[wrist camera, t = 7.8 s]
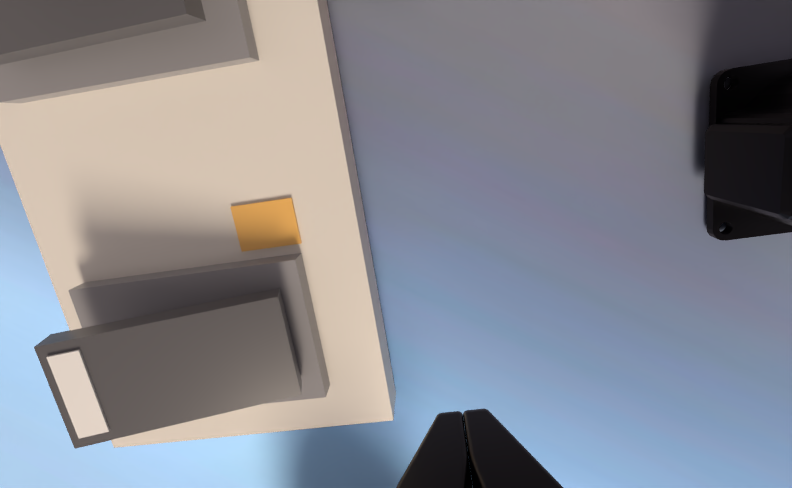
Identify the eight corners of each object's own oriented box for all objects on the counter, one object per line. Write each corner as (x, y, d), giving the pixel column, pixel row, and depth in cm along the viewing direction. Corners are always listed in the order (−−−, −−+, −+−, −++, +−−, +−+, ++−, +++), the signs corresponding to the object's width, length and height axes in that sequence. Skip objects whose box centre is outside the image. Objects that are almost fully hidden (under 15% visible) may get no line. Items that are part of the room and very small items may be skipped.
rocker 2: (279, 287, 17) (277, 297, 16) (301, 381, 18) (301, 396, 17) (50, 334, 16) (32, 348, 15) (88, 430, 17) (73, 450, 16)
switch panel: (280, -263, 15) (247, -350, 12) (396, 393, 21) (392, 434, 19) (-69, -176, 16) (-171, -237, 13) (140, 419, 23) (100, 462, 20)
